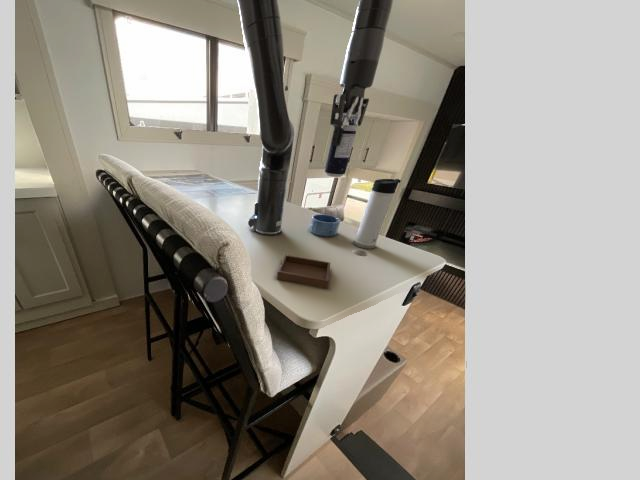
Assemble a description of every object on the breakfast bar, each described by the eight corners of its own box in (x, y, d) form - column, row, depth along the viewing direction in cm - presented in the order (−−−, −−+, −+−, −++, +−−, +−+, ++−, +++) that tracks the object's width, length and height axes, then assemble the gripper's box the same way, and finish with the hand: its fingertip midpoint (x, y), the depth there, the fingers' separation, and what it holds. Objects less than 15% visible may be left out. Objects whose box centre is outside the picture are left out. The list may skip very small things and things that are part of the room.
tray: (276, 278, 63) (277, 271, 61) (283, 261, 71) (285, 254, 69) (326, 288, 60) (328, 281, 59) (328, 269, 68) (330, 262, 66)
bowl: (308, 234, 88) (311, 220, 85) (310, 226, 95) (313, 212, 92) (336, 238, 86) (339, 224, 83) (336, 229, 93) (340, 216, 90)
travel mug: (377, 250, 79) (404, 181, 68) (355, 247, 80) (378, 179, 69) (373, 242, 84) (397, 177, 73) (352, 240, 85) (373, 175, 74)
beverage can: (346, 175, 73) (359, 125, 66) (341, 178, 69) (355, 125, 62) (327, 173, 76) (338, 124, 68) (321, 175, 72) (332, 124, 65)
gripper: (360, 66, 64) (341, 143, 74) (331, 56, 56) (314, 144, 66) (390, 63, 60) (366, 146, 70) (363, 52, 52) (340, 147, 62)
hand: (341, 145), depth 68 cm, fingers closed on beverage can, 5 cm apart
